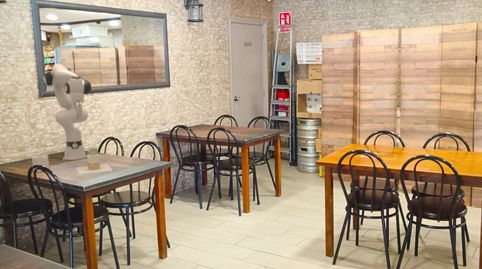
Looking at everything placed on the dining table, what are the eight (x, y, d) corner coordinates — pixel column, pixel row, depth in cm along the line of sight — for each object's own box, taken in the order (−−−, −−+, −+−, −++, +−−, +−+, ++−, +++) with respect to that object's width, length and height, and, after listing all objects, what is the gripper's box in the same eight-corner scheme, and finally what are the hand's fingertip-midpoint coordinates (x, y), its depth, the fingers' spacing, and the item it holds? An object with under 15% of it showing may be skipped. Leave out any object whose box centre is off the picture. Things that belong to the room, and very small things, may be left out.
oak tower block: (88, 168, 338) (87, 161, 337) (98, 167, 341) (97, 160, 340) (89, 170, 332) (88, 163, 331) (99, 169, 334) (99, 162, 334)
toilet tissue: (35, 173, 331) (33, 159, 330) (31, 170, 341) (29, 156, 339) (51, 170, 337) (50, 156, 336) (46, 167, 347) (45, 154, 345)
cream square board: (76, 168, 343) (75, 167, 343) (107, 164, 352) (107, 163, 351) (79, 175, 321) (79, 174, 321) (112, 171, 330) (112, 170, 330)
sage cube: (88, 154, 336) (88, 147, 335) (96, 153, 338) (95, 146, 338) (90, 155, 332) (90, 148, 331) (97, 154, 334) (97, 147, 333)
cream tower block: (87, 161, 337) (86, 154, 336) (97, 160, 340) (96, 153, 339) (89, 163, 331) (88, 156, 330) (99, 162, 334) (99, 155, 333)
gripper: (83, 100, 329) (85, 120, 331) (80, 98, 347) (82, 117, 350) (74, 100, 326) (75, 121, 329) (71, 99, 345) (73, 118, 347)
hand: (79, 119), depth 339 cm, fingers open, 8 cm apart
